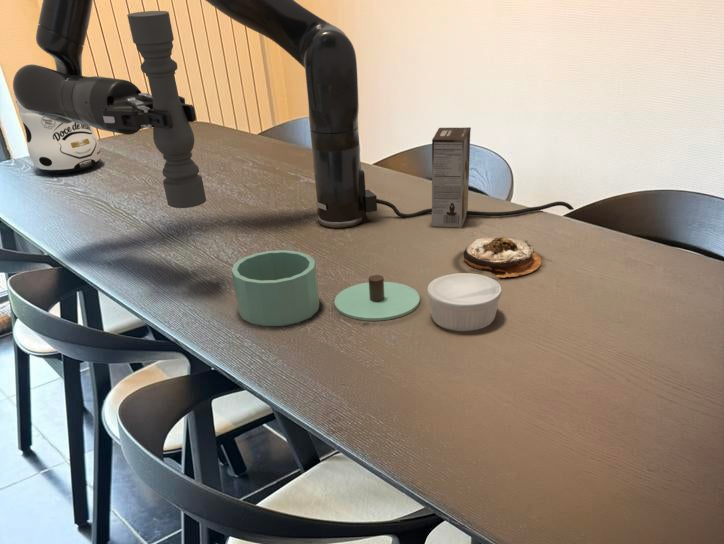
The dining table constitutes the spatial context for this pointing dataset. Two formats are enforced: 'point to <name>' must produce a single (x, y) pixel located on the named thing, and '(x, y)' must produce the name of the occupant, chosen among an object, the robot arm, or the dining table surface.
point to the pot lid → (377, 300)
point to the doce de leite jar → (59, 143)
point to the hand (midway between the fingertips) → (181, 117)
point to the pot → (276, 287)
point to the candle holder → (168, 108)
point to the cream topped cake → (502, 256)
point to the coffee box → (450, 176)
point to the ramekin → (464, 301)
